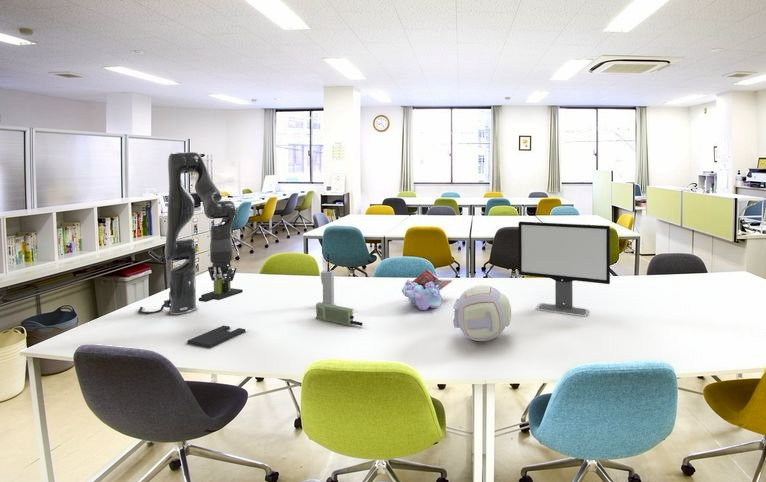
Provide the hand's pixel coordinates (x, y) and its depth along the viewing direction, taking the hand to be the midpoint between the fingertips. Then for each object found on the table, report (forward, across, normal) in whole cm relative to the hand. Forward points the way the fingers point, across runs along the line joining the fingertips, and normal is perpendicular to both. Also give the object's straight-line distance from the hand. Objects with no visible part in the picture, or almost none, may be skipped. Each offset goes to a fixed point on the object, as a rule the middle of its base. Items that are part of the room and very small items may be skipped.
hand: (222, 291), depth 150 cm
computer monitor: (+17, +130, +64) cm, 146 cm away
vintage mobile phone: (+16, +23, +34) cm, 44 cm away
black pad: (+2, 0, -2) cm, 2 cm away
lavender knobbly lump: (+16, +67, +51) cm, 85 cm away
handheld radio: (+16, +41, +20) cm, 49 cm away
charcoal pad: (+16, +6, -6) cm, 18 cm away
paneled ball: (+17, +104, +26) cm, 108 cm away
